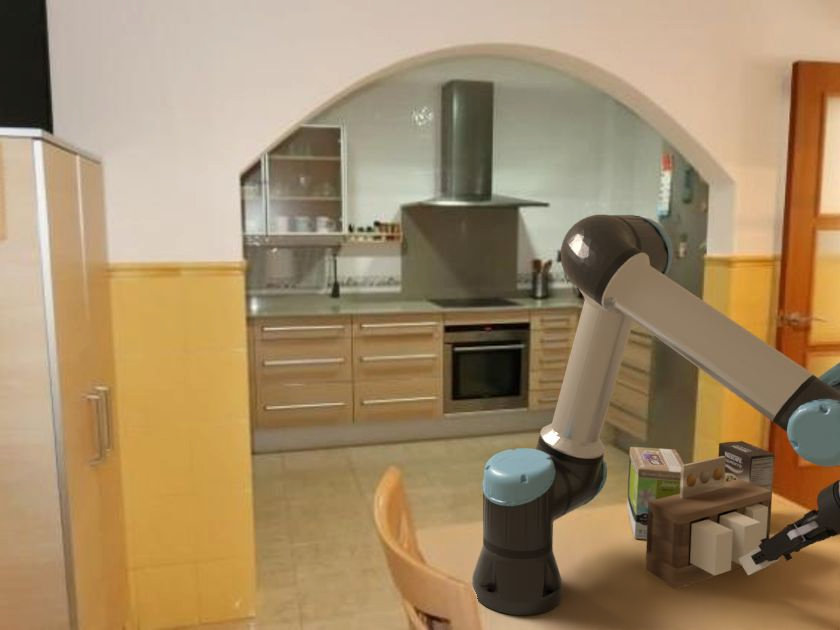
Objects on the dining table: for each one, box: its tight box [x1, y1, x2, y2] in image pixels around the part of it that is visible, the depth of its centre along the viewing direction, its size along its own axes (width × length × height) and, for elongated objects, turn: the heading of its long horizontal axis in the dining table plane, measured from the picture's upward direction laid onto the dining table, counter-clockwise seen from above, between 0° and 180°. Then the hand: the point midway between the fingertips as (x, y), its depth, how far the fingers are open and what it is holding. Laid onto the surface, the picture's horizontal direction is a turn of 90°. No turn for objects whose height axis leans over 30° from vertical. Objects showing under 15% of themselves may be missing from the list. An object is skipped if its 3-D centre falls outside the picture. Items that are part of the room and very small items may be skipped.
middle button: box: [719, 512, 760, 565], centre depth 117 cm, size 5×4×7 cm
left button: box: [690, 519, 733, 577], centre depth 114 cm, size 5×4×7 cm
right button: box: [729, 503, 768, 545], centre depth 123 cm, size 5×4×7 cm
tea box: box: [626, 446, 686, 541], centre depth 139 cm, size 15×10×15 cm, turn 169°
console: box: [645, 456, 773, 589], centre depth 122 cm, size 7×24×19 cm, turn 117°
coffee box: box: [717, 440, 775, 492], centre depth 140 cm, size 9×6×16 cm
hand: (746, 566), depth 108 cm, fingers closed
